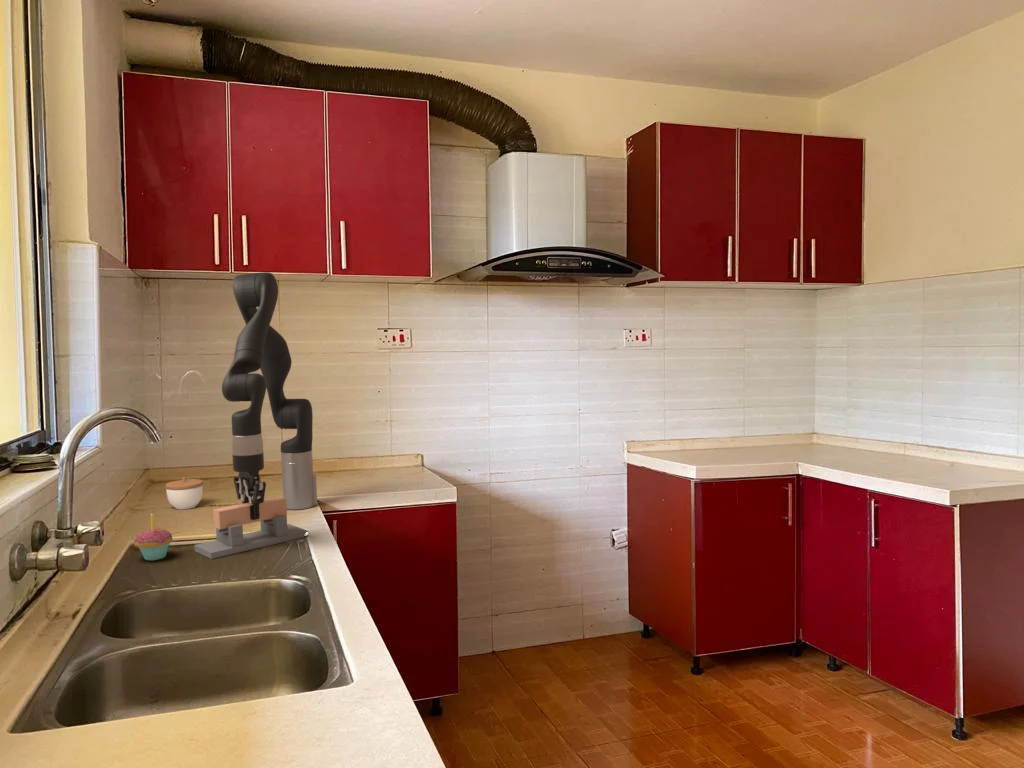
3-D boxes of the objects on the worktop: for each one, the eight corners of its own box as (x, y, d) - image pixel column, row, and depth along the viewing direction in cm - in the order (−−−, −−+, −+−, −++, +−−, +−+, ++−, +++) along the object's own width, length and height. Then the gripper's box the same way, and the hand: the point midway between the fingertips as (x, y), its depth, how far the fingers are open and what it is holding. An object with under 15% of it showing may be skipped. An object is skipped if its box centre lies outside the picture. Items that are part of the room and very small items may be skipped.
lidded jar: (210, 506, 242) (208, 476, 241) (175, 513, 234) (173, 482, 233) (195, 501, 249) (194, 472, 249) (161, 507, 242) (159, 478, 241)
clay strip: (280, 513, 207) (279, 496, 207) (286, 515, 205) (286, 498, 204) (214, 526, 195) (213, 509, 194) (220, 529, 192) (219, 511, 192)
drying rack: (289, 529, 213) (288, 506, 212) (308, 536, 206) (307, 512, 205) (194, 550, 195) (193, 525, 194) (211, 559, 188) (209, 532, 187)
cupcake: (175, 559, 188) (172, 510, 187) (136, 565, 184) (133, 515, 183) (171, 550, 196) (168, 503, 195) (134, 556, 192) (130, 508, 191)
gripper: (274, 452, 196) (278, 519, 197) (249, 447, 206) (252, 510, 207) (246, 456, 191) (249, 525, 192) (221, 450, 201) (225, 516, 202)
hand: (251, 517), depth 200 cm, fingers closed on clay strip, 3 cm apart
